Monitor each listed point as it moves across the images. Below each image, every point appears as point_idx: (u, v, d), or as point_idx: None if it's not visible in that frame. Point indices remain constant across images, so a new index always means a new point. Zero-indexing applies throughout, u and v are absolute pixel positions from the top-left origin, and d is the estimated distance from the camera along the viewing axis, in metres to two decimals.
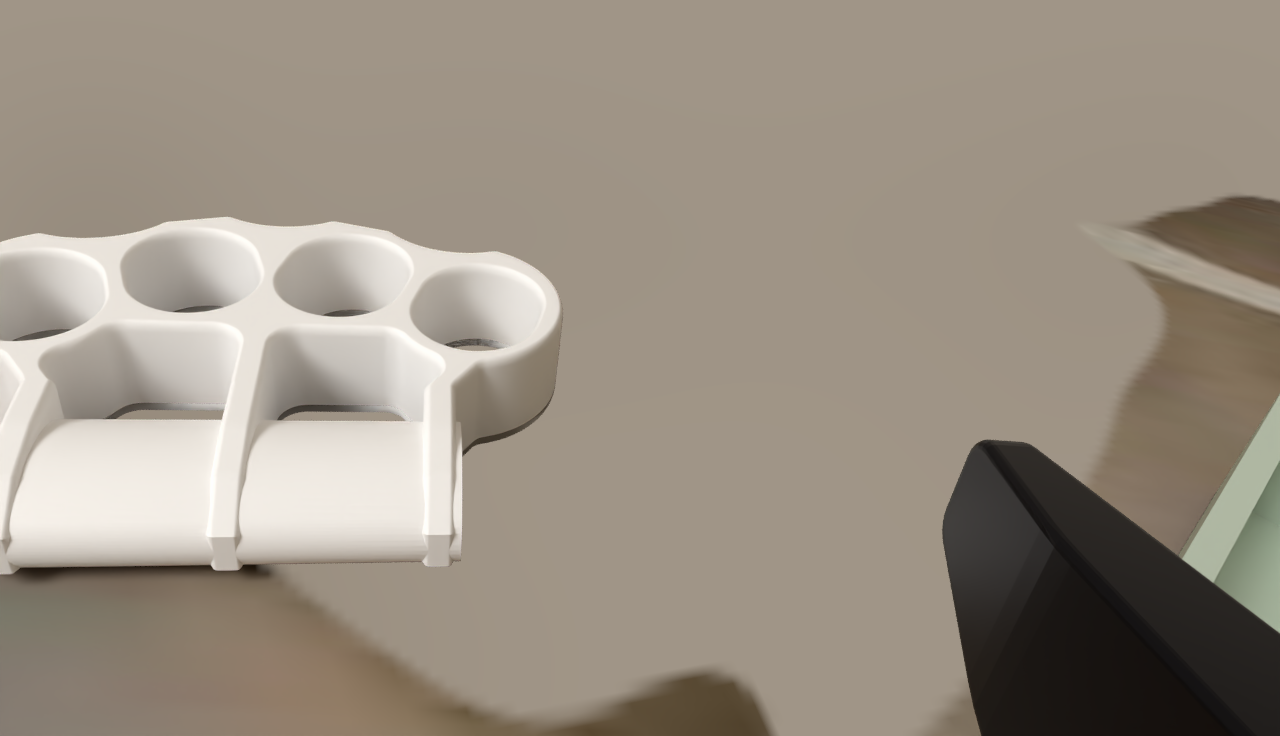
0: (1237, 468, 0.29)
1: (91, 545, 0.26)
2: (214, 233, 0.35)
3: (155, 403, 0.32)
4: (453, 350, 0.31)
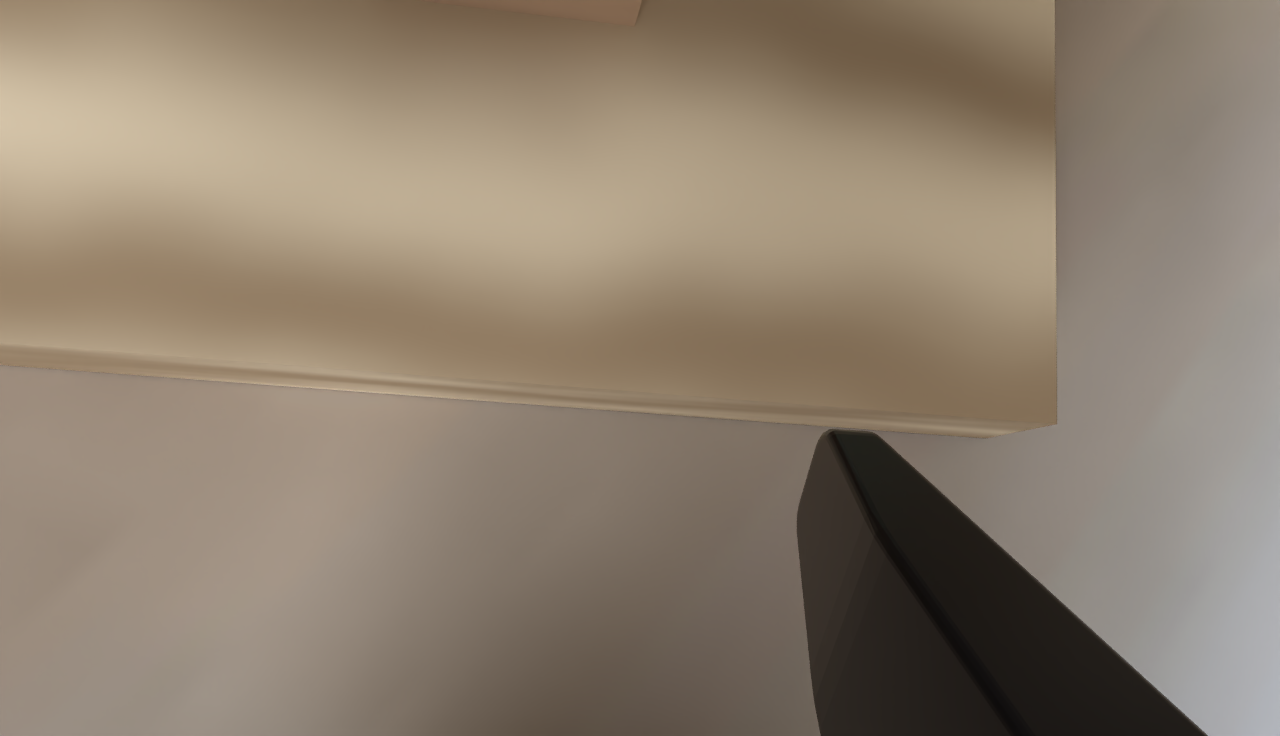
0: None
1: None
2: None
3: None
4: None
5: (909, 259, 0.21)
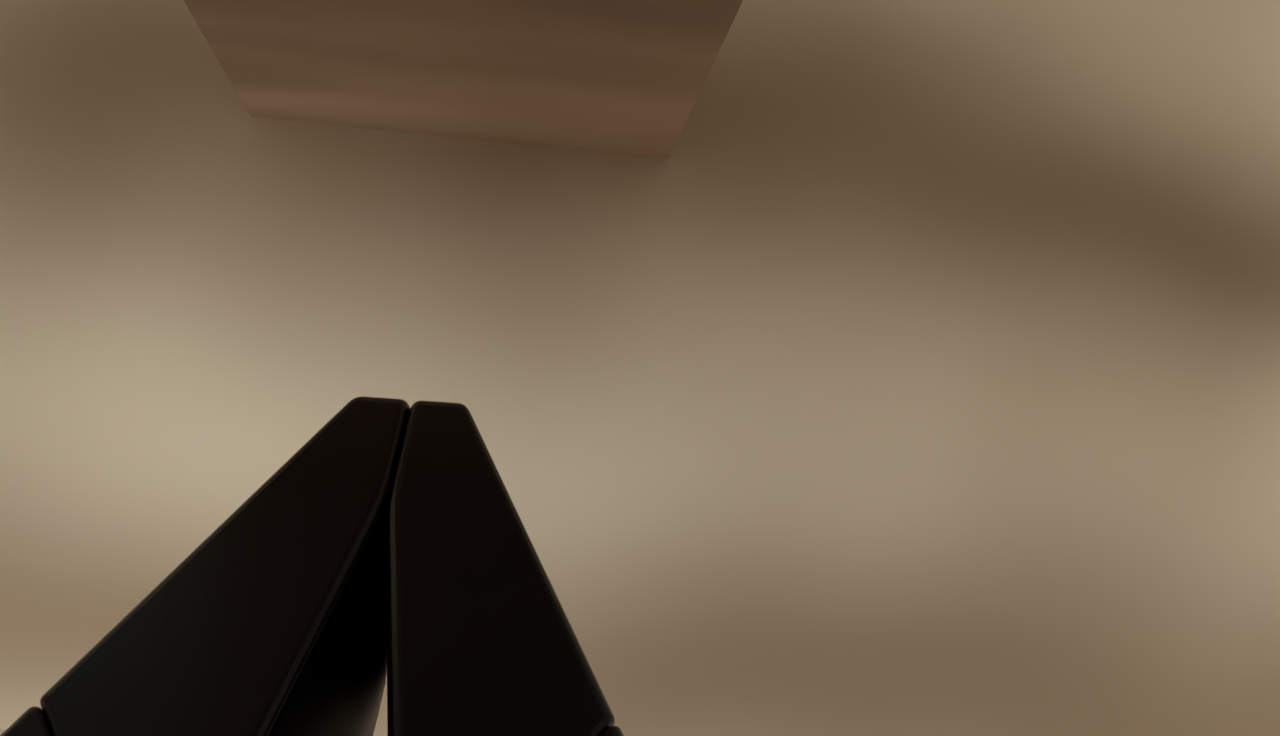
0: None
1: None
2: None
3: None
4: None
5: (1094, 514, 0.13)
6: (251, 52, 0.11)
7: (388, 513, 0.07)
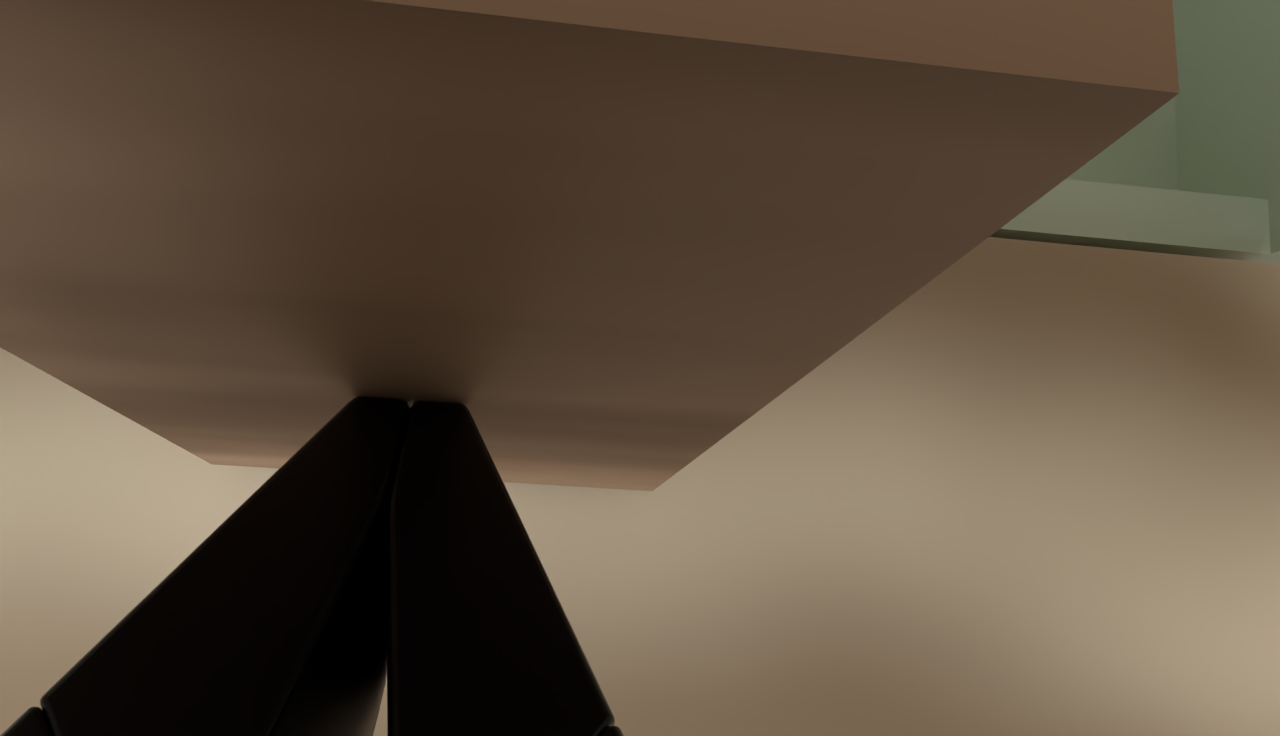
0: None
1: None
2: None
3: None
4: None
5: None
6: (207, 441, 0.10)
7: (388, 513, 0.07)
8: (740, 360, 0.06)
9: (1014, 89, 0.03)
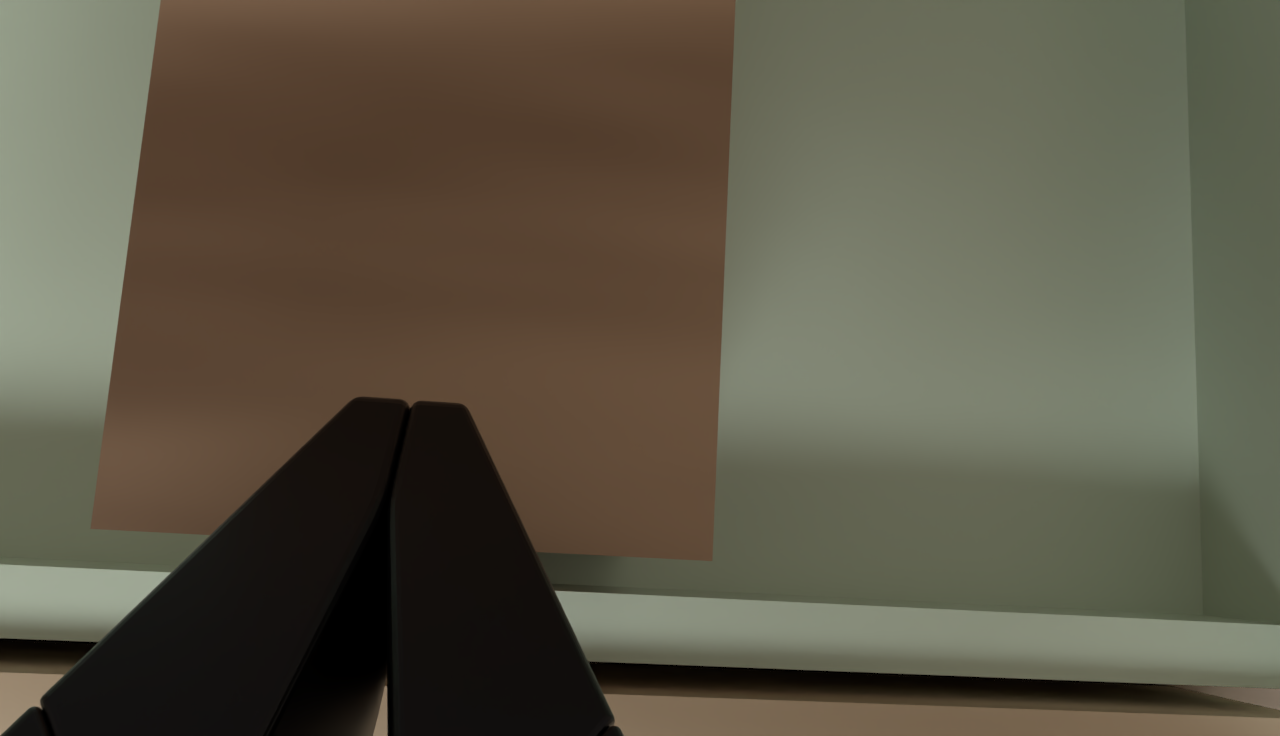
0: None
1: None
2: None
3: None
4: None
5: None
6: (170, 307, 0.09)
7: (388, 513, 0.07)
8: None
9: None
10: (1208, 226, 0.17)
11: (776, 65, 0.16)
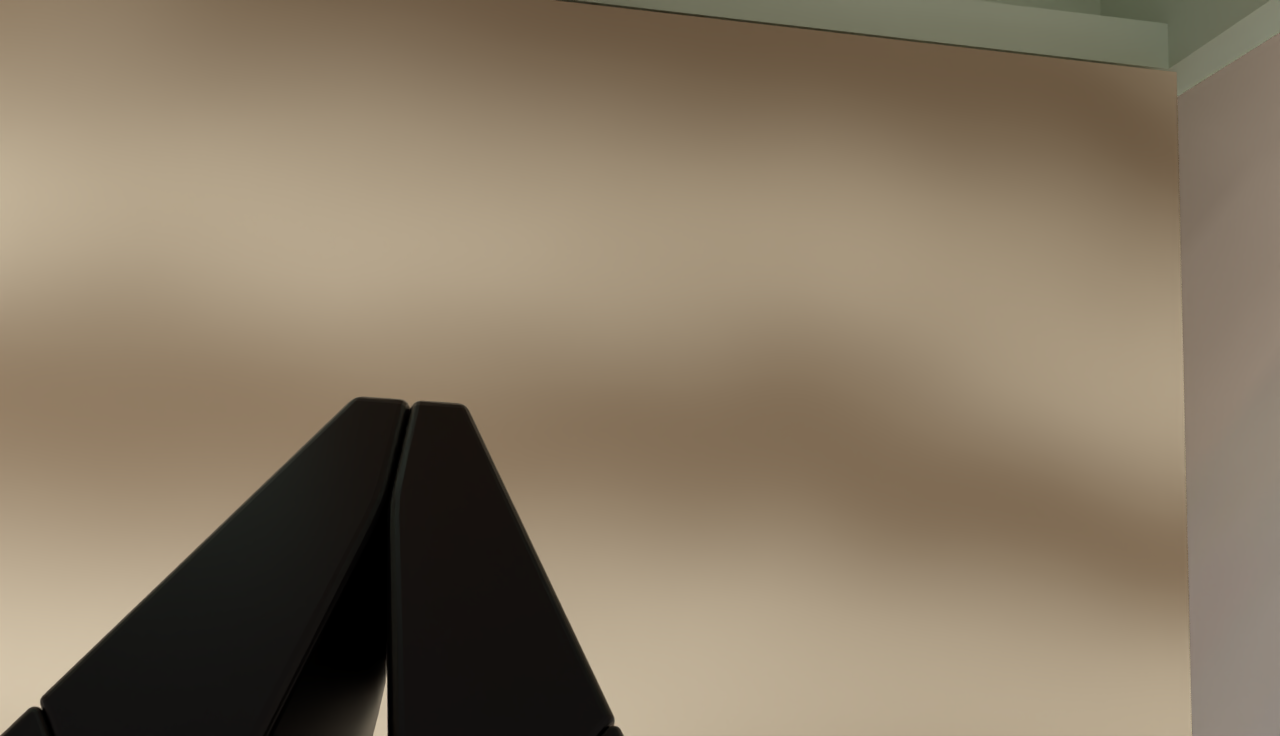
0: None
1: None
2: None
3: None
4: None
5: None
6: None
7: (388, 513, 0.07)
8: None
9: None
10: None
11: None
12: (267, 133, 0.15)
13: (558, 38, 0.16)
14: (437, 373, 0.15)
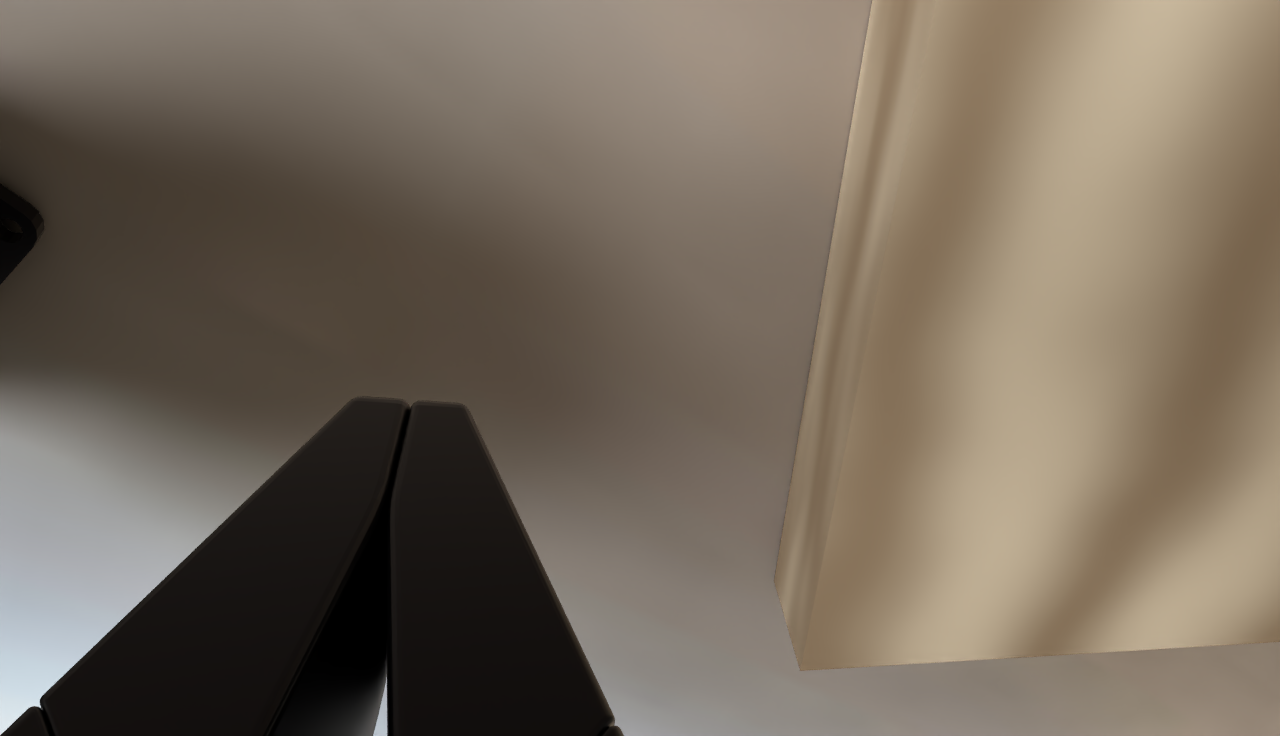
0: None
1: None
2: None
3: None
4: None
5: (940, 579, 0.25)
6: None
7: (388, 513, 0.07)
8: None
9: None
10: None
11: None
12: None
13: None
14: None
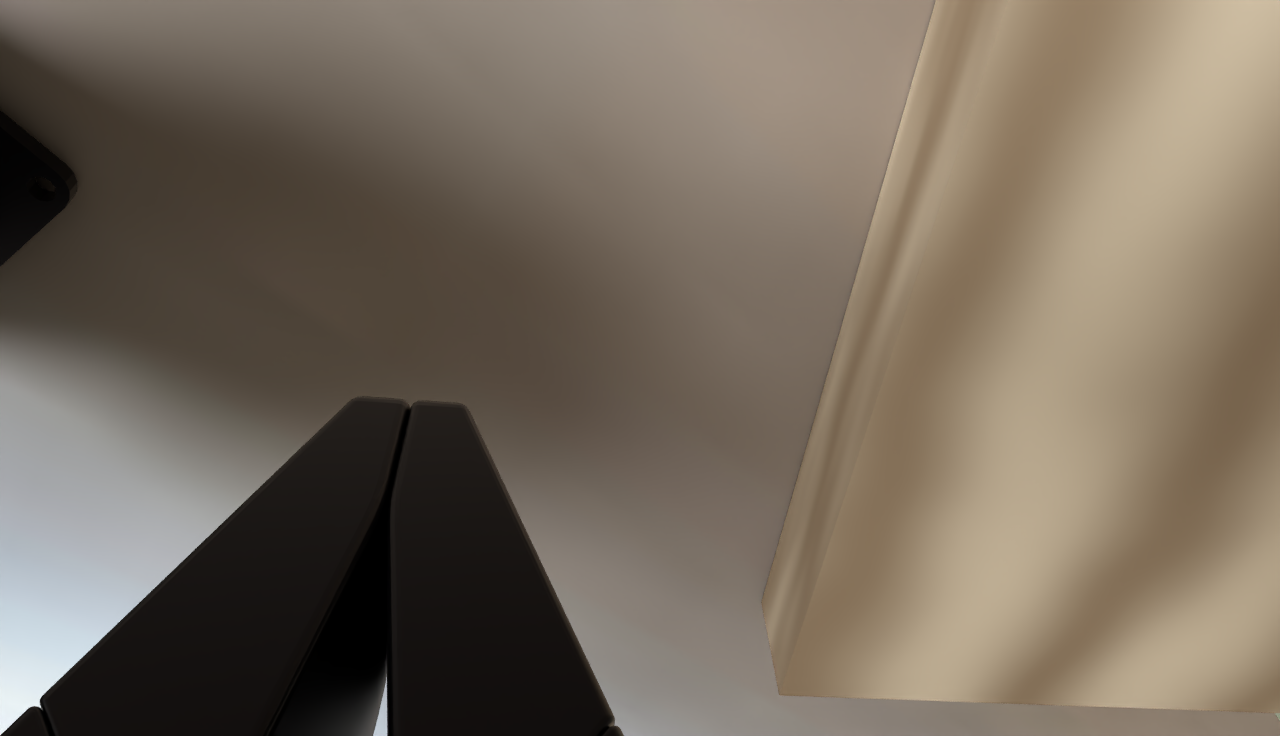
0: None
1: None
2: None
3: None
4: None
5: (927, 620, 0.25)
6: None
7: (388, 513, 0.07)
8: None
9: None
10: None
11: None
12: None
13: None
14: None
